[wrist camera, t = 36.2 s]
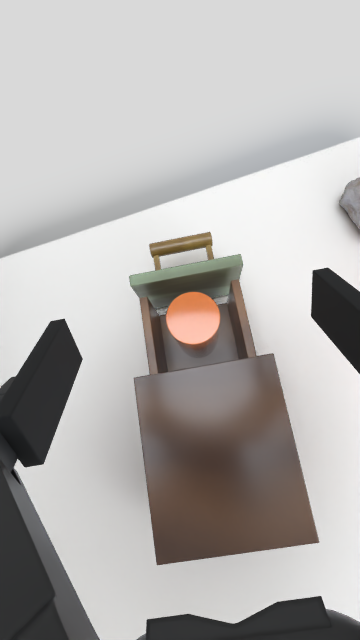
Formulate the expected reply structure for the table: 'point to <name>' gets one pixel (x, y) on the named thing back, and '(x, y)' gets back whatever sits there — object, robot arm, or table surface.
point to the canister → (194, 323)
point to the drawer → (194, 277)
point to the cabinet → (221, 461)
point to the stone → (352, 201)
